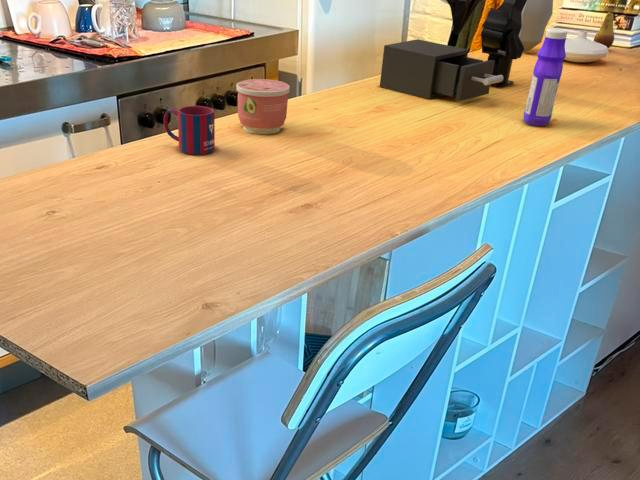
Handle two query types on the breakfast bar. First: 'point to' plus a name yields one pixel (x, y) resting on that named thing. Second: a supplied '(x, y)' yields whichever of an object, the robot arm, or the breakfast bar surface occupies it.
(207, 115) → the mug
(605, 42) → the fruit
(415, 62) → the dark drawer cabinet casing
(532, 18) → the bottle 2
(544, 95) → the bottle
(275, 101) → the container
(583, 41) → the vase
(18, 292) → the breakfast bar surface
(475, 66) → the pull-out drawer box
